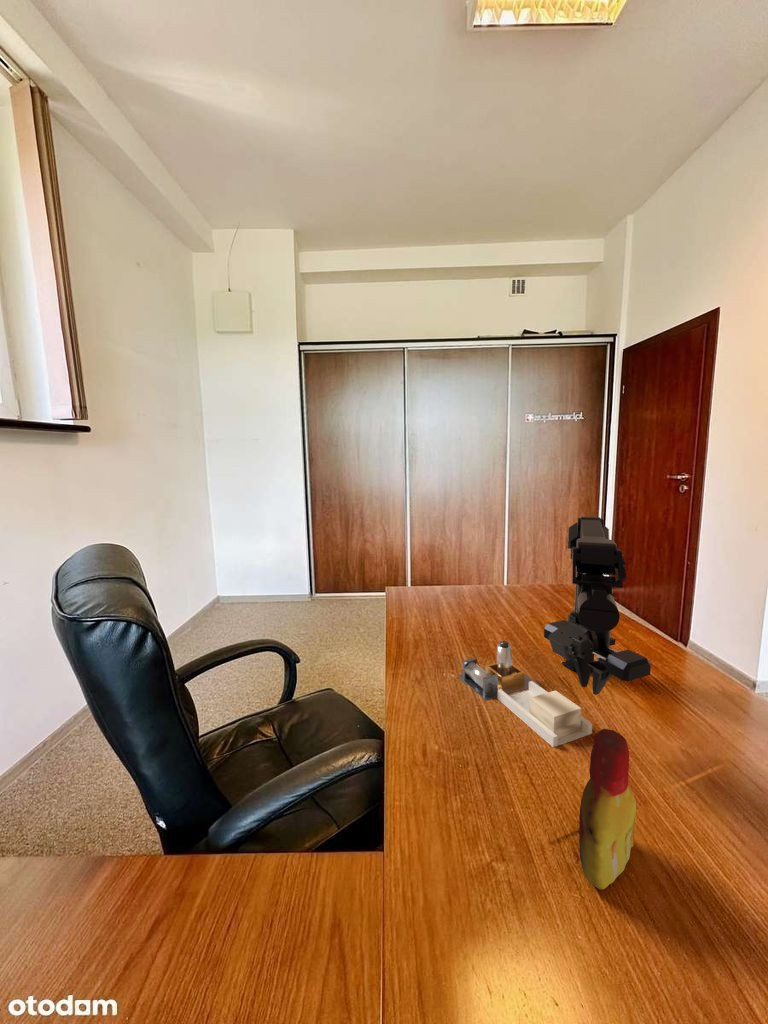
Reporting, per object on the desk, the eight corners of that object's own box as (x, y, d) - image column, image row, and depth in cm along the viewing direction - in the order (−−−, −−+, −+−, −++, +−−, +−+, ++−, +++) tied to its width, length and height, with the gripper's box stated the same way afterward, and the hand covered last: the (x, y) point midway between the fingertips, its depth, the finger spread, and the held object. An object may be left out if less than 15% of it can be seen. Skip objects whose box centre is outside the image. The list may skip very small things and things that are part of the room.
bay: (531, 690, 99) (532, 680, 99) (591, 735, 83) (592, 724, 82) (497, 700, 95) (497, 690, 95) (553, 749, 79) (553, 737, 79)
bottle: (614, 914, 51) (622, 768, 48) (562, 877, 55) (567, 742, 53) (641, 848, 59) (649, 721, 56) (594, 821, 64) (599, 702, 61)
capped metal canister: (505, 673, 106) (505, 638, 105) (515, 679, 103) (514, 643, 102) (494, 676, 105) (493, 641, 104) (503, 683, 102) (503, 646, 100)
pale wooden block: (552, 709, 91) (553, 688, 90) (580, 730, 84) (581, 708, 83) (527, 717, 88) (527, 696, 87) (553, 740, 81) (554, 716, 80)
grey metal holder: (508, 664, 112) (509, 647, 111) (540, 686, 101) (540, 668, 100) (458, 676, 106) (458, 659, 105) (485, 702, 95) (485, 682, 94)
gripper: (522, 600, 80) (521, 675, 82) (605, 638, 62) (600, 732, 65) (566, 592, 84) (564, 664, 86) (655, 626, 66) (649, 715, 68)
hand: (590, 690), depth 76 cm, fingers closed
